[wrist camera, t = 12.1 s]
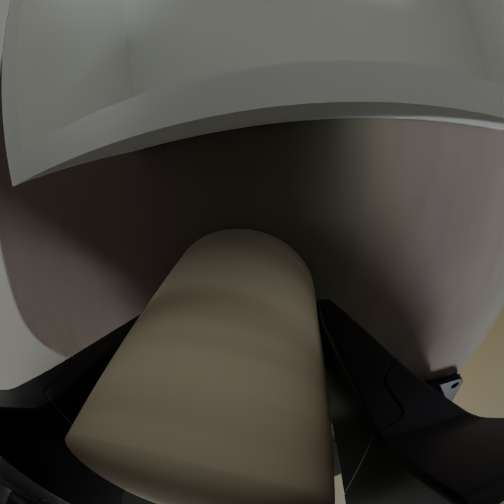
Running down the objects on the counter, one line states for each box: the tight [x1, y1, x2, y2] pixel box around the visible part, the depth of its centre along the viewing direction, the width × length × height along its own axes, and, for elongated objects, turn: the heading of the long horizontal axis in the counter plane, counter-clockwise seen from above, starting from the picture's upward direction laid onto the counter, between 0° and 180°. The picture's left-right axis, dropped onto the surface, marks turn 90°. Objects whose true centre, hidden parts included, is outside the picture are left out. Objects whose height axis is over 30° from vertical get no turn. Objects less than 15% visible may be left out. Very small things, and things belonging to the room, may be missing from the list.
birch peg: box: [65, 229, 335, 504], centre depth 7 cm, size 5×5×7 cm
